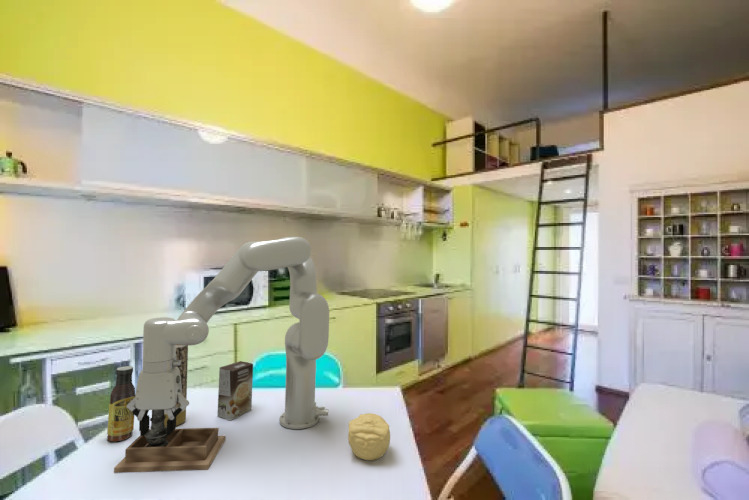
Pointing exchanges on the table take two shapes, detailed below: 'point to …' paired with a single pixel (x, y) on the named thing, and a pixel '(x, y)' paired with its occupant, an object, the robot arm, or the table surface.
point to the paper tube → (183, 357)
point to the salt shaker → (157, 430)
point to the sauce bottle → (121, 406)
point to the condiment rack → (173, 452)
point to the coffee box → (235, 389)
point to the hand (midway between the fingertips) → (157, 432)
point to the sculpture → (369, 436)
